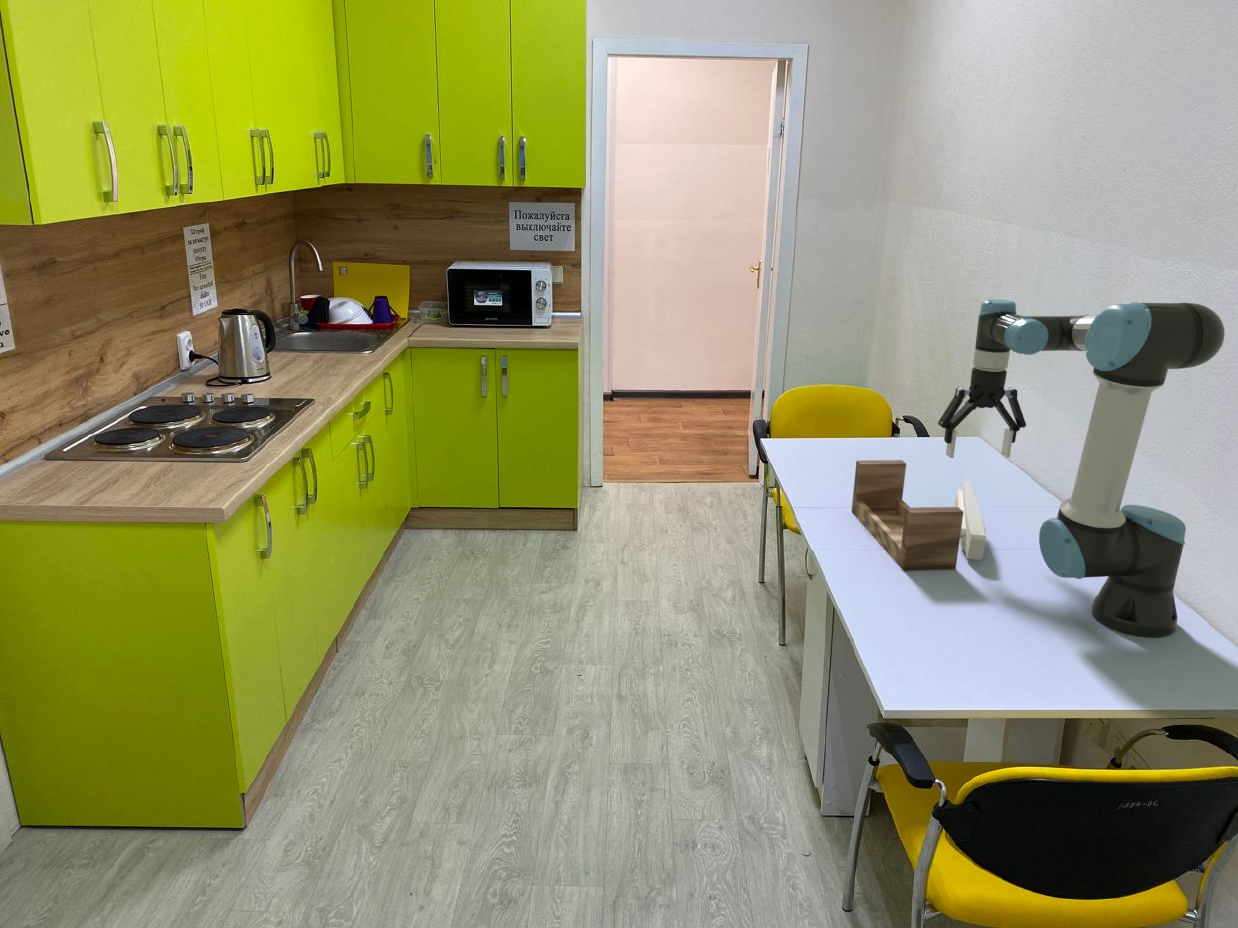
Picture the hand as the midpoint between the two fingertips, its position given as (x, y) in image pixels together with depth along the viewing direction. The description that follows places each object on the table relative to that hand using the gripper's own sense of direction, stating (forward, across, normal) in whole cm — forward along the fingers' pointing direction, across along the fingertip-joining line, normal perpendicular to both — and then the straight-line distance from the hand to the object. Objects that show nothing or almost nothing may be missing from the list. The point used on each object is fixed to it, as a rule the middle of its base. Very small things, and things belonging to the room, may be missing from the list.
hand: (977, 456), depth 226 cm
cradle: (+21, +16, -1) cm, 27 cm away
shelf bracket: (+22, +1, +3) cm, 22 cm away
